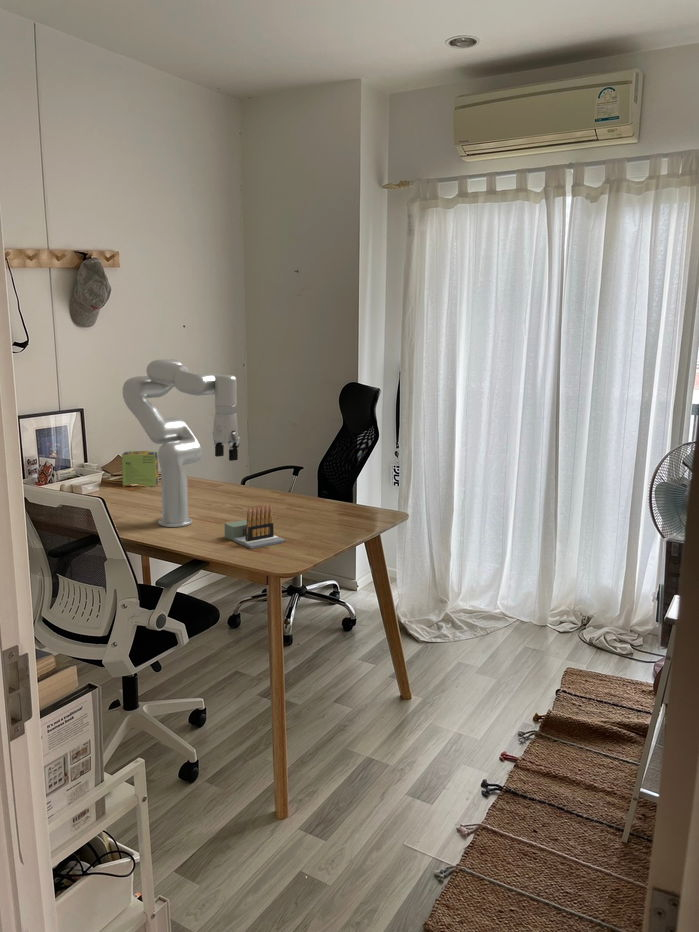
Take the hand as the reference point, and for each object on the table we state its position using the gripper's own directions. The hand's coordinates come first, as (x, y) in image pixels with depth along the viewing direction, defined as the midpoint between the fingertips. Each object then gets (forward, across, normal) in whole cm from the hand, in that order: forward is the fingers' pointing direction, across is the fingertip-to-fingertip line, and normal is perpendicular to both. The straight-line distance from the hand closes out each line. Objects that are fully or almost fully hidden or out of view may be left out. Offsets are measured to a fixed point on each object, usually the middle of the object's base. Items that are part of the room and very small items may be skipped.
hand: (226, 458), depth 263 cm
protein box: (+29, -97, +10) cm, 102 cm away
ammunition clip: (+27, +14, +5) cm, 31 cm away
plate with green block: (+28, +11, +5) cm, 31 cm away
